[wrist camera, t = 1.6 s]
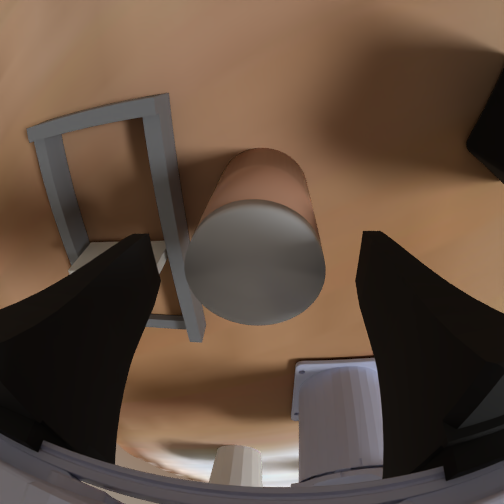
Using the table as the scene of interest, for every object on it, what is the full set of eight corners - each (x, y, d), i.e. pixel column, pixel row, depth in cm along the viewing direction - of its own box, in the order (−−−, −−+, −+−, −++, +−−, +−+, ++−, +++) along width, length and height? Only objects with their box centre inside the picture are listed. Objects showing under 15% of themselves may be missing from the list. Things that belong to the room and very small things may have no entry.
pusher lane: (206, 325, 21) (200, 347, 19) (110, 318, 22) (99, 337, 20) (168, 92, 13) (153, 97, 11) (48, 120, 14) (26, 128, 12)
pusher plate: (171, 249, 18) (155, 282, 15) (94, 250, 18) (71, 279, 16) (169, 240, 17) (152, 272, 15) (91, 242, 18) (67, 270, 15)
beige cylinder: (209, 455, 36) (202, 500, 30) (216, 439, 32) (208, 491, 26) (258, 463, 36) (255, 507, 31) (272, 447, 33) (270, 498, 27)
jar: (306, 228, 17) (319, 324, 11) (223, 229, 17) (196, 323, 11) (307, 147, 14) (330, 210, 8) (215, 150, 15) (173, 212, 9)
